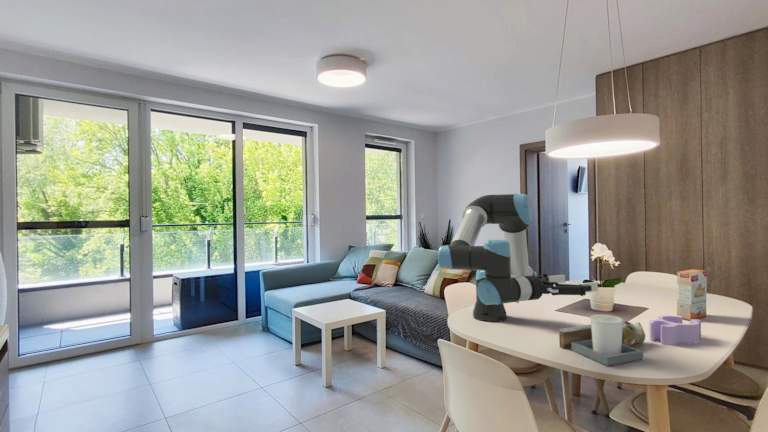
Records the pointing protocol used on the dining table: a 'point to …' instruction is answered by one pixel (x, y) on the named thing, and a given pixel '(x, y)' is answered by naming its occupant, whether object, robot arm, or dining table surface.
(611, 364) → the blue gray square tray
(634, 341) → the ceramic sculpture
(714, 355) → the dining table surface
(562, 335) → the board
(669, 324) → the clip
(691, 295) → the cracker box
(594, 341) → the white cup
